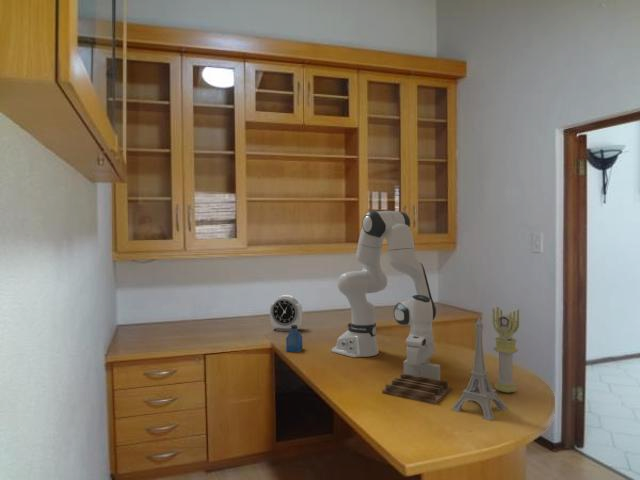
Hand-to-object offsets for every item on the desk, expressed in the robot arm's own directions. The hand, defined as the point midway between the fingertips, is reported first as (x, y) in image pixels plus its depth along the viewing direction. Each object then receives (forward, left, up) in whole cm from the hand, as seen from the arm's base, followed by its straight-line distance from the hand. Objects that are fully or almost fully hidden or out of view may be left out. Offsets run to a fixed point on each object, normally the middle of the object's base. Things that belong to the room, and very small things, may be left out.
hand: (421, 371), depth 181 cm
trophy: (+31, +2, -2) cm, 31 cm away
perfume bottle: (-67, +6, -3) cm, 67 cm away
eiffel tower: (+27, -19, -3) cm, 33 cm away
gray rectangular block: (0, 0, -2) cm, 2 cm away
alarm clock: (-96, +38, -2) cm, 103 cm away
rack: (+4, -15, -2) cm, 16 cm away
